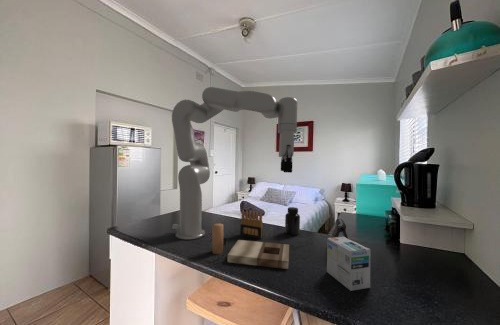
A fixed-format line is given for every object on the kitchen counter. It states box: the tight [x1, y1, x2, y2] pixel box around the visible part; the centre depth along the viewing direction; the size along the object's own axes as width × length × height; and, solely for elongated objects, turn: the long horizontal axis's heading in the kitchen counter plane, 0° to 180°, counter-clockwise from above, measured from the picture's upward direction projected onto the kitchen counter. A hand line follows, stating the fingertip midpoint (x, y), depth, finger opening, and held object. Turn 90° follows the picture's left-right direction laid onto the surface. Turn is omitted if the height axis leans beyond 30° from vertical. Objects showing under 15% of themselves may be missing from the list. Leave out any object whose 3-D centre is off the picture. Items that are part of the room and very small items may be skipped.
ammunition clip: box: [239, 208, 264, 240], centre depth 98 cm, size 11×2×12 cm, turn 63°
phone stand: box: [330, 218, 349, 239], centre depth 83 cm, size 9×6×12 cm, turn 73°
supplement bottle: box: [284, 206, 301, 237], centre depth 103 cm, size 7×7×12 cm
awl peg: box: [211, 223, 225, 255], centre depth 81 cm, size 4×4×10 cm
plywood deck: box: [227, 239, 290, 270], centre depth 78 cm, size 20×14×2 cm
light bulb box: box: [326, 236, 372, 292], centre depth 63 cm, size 11×7×11 cm, turn 17°
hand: (286, 171), depth 88 cm, fingers open, 9 cm apart
